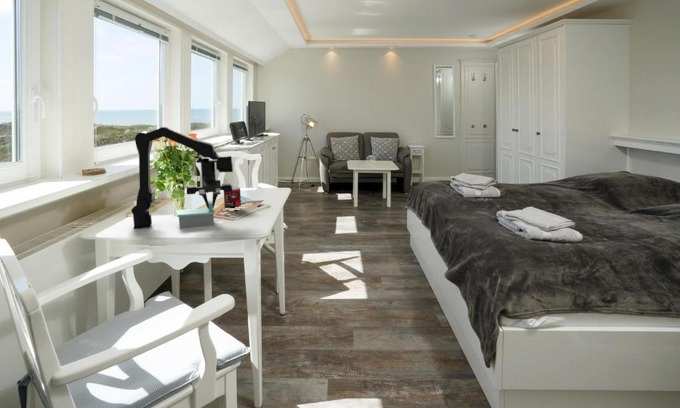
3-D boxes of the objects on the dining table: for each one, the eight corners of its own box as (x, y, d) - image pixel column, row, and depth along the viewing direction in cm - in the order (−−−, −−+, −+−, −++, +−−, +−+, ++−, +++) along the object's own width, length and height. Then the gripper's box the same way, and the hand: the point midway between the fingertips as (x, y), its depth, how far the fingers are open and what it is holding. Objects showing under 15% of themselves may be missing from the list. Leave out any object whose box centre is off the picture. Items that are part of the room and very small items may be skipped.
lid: (177, 218, 198) (176, 206, 197) (177, 213, 207) (176, 202, 206) (214, 215, 202) (214, 204, 201) (213, 210, 212) (212, 199, 211)
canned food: (221, 210, 232) (220, 188, 230) (232, 207, 239) (231, 186, 236) (233, 212, 228) (232, 189, 226) (244, 209, 235) (243, 187, 233)
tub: (179, 228, 199) (178, 216, 198) (179, 223, 208) (178, 212, 207) (214, 225, 204) (213, 214, 203) (212, 220, 212) (211, 209, 211)
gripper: (185, 176, 193) (188, 214, 196) (232, 174, 198) (234, 210, 202) (185, 172, 203) (187, 208, 206) (229, 170, 209) (231, 205, 212)
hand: (210, 208), depth 206 cm, fingers closed on lid
